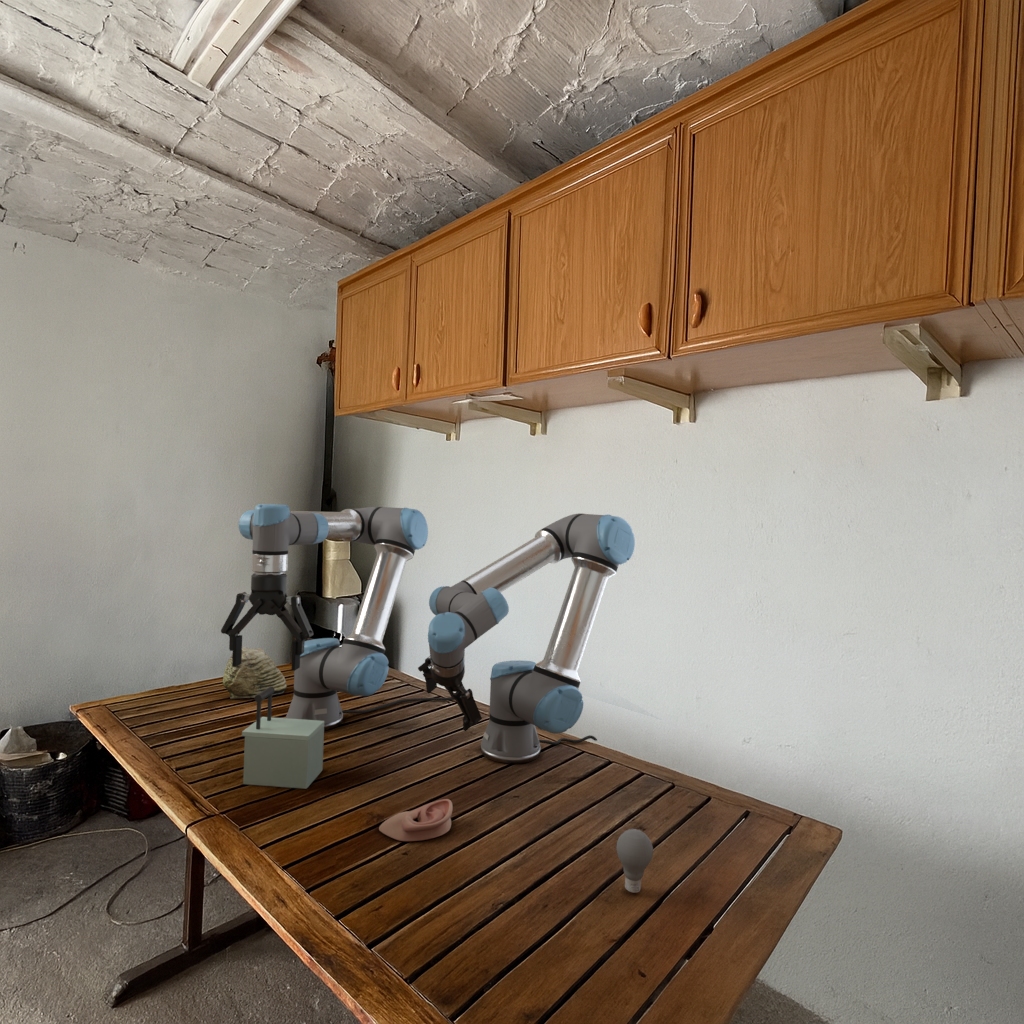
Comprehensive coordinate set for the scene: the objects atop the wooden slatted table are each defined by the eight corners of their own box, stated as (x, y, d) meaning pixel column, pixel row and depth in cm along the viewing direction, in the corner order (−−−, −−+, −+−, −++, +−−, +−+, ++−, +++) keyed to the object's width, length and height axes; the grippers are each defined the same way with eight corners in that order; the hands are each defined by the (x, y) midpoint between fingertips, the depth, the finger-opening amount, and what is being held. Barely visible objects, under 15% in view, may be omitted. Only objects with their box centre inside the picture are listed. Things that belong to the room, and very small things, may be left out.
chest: (243, 784, 138) (244, 736, 138) (263, 765, 148) (264, 721, 147) (306, 788, 137) (308, 741, 137) (322, 770, 147) (324, 725, 146)
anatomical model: (372, 815, 119) (396, 788, 130) (371, 836, 119) (395, 808, 130) (440, 826, 116) (458, 797, 127) (439, 847, 116) (457, 817, 127)
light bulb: (610, 879, 108) (613, 822, 108) (644, 879, 109) (647, 822, 109) (619, 902, 102) (622, 840, 102) (655, 901, 103) (658, 840, 103)
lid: (241, 736, 138) (243, 696, 138) (262, 721, 147) (263, 683, 147) (308, 740, 137) (309, 700, 137) (324, 725, 146) (325, 687, 146)
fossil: (218, 695, 195) (220, 647, 195) (278, 685, 208) (279, 640, 207) (228, 703, 189) (230, 653, 188) (289, 692, 201) (290, 645, 201)
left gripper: (206, 571, 139) (203, 668, 139) (317, 577, 137) (313, 675, 138) (224, 568, 146) (221, 659, 147) (329, 573, 145) (326, 666, 145)
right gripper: (399, 638, 145) (405, 683, 160) (473, 713, 133) (472, 754, 149) (424, 619, 149) (428, 665, 164) (498, 690, 137) (495, 732, 153)
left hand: (266, 667), depth 142 cm, fingers open, 13 cm apart
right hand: (449, 707), depth 156 cm, fingers open, 13 cm apart
